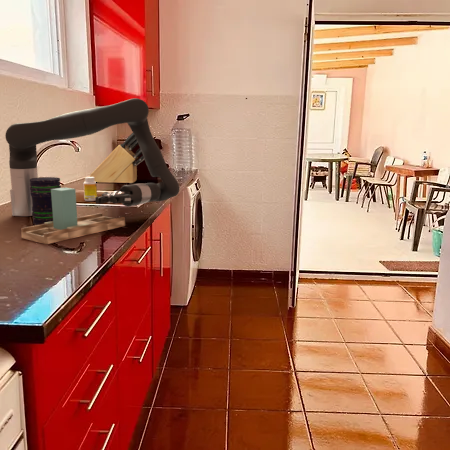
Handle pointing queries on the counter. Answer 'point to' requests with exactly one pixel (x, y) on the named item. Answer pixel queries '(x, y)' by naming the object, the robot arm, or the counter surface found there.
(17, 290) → the counter surface
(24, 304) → the counter surface
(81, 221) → the box
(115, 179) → the knife block
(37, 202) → the navy cylinder
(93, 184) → the supplement bottle
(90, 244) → the counter surface
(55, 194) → the teal block
